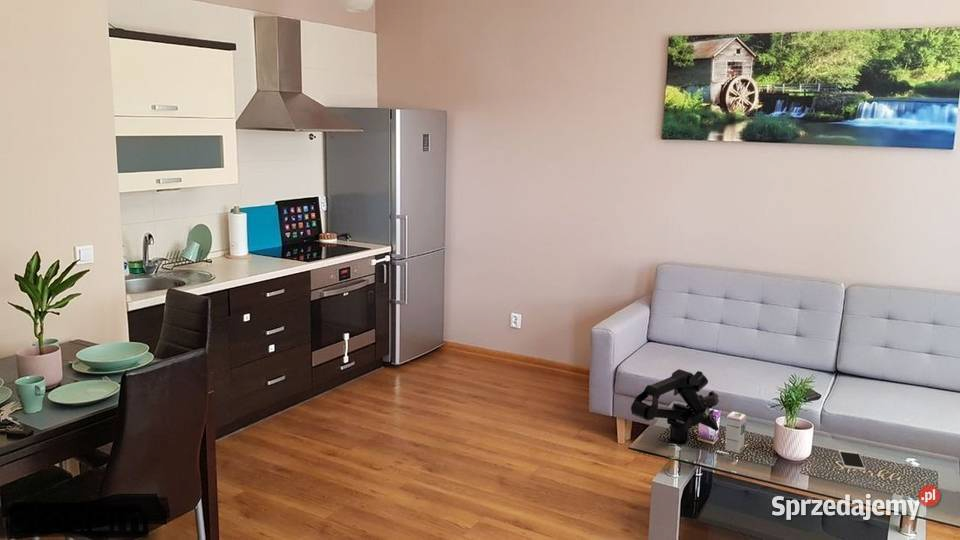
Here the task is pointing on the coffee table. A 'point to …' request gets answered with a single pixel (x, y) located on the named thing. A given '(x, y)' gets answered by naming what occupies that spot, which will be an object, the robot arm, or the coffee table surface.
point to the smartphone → (851, 460)
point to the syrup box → (735, 432)
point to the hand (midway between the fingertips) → (717, 430)
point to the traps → (727, 457)
